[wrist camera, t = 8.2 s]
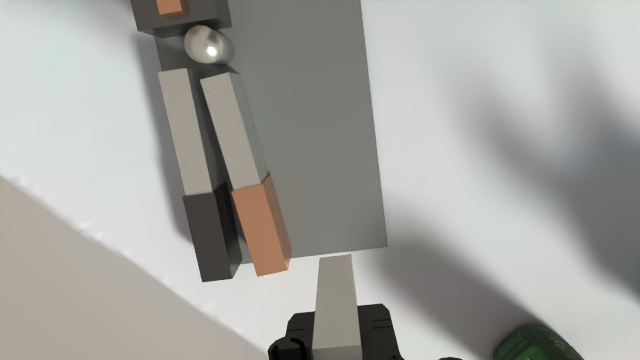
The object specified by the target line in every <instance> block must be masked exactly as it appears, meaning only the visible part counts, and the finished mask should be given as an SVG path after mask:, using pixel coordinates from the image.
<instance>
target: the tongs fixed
mask: <svg viewBox="0 0 640 360" xmlns="http://www.w3.org/2000/svg"><path fill="white" fill-rule="evenodd" d="M131 4H132V9H133V13H134V17H135V21H136V26H137V30H138V31H140V32H143V33H147V34H150V35H153V36H156V37H159V38H169V37H176V36H182V35H186V34H187V32H188V31H189V30H190V29H191V28H193V27H195V26H199V25H202V26H206V27H209V28H211V29H212V30H219V29H225V28H232V21H231V16H230V10H229V5H228V0H131ZM157 73H158V77H159V82H160V86H161V91H162V95H163V99H164V104H165V108H166V112H167V117H168V121H169V126H170V130H171V134H172V139H173V143H174V147H175V152H176V156H177V160H178V165H179V169H180V174H181V178H182V182H183V187H184V191H185V196H183V201H184V205H185V209H186V214H187V218H188V222H189V227H190V231H191V235H192V240H193V244H194V248H195V253H196V257H197V261H198V266H199V270H200V274H201V279H202V282H209V281H217V280H226V279H232V278H233V277H234V275H235V273H236V271H237V269H238V267H239V265H240V264H241V262H242V260H243V258H242V253H241V248H240V244H239V239H238V234H237V229H236V224H235V219H234V214H233V209H232V204H231V199H230V194H229V189H228V184H227V182H225V179H224V174H223V169H222V165H221V160H220V155H219V150H218V145H217V140H216V135H215V130H214V125H213V121H212V118H211V114H210V111H209V108H208V105H207V101H206V98H205V95H204V92H203V88H202V85H201V82H200V80H201V79H204V76H203V71H202V70H196V69H190V68H182V69H176V70H169V71H163V72H157Z"/></svg>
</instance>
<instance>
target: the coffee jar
mask: <svg viewBox="0 0 640 360" xmlns="http://www.w3.org/2000/svg"><path fill="white" fill-rule="evenodd" d="M493 360H584V359H583V358H582V357H581V356H580V355H579V353H578V352H577V351H576V350H575V349H574V348H573V347H572V346H570V345H569V344H568V343H567V342H566V341H565V340H563V339H562V338H561V337H560V336H558V335H557V334H555V333H554V332H552V331H551V330H549V329H547V328H545V327H542V326H538V325H531V326H526V327H523V328H521V329H519V330H517V331H515V332H514V333H512V334H511V335H510V336H508V337H507V338H506V339H505V340H504V341H503V342H502V343H501V344H500V346H499V347H498V348H497V350H496V351H495V353H494V356H493Z"/></svg>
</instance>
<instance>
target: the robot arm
mask: <svg viewBox="0 0 640 360" xmlns="http://www.w3.org/2000/svg"><path fill="white" fill-rule="evenodd" d="M286 331H287V332H286V335H285V337H282V338H280V339H278V340H276V341H275V342H274V343H273V344H272V345H270V347H269V349H268V355H269V360H404V359H403V358H402V357H401V355H400V352H399V348H398V344H397V340H396V336H395V332H394V328H393V324H392V320H391V316H390V312H389V310H388V309H387V308H386V307H385V306H384V305H383V304H372V305H363V306H358V303H357V295H356V288H355V280H354V272H353V264H352V257H351V254H349V255H341V256H332V257H323V258H320V261H319V273H318V285H317V297H316V309H315V311H314V312H305V313H295V314H294V315H293V316H292V317H291V319H290V320H289V321H288V325H287V330H286ZM439 360H462V359H460V358H453V357H447V358H441V359H439Z"/></svg>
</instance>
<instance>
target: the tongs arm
mask: <svg viewBox="0 0 640 360" xmlns="http://www.w3.org/2000/svg"><path fill="white" fill-rule="evenodd" d="M184 46H185V50H186V52H187V54H188V55H189V56H190V57H191V58H192V59H193V60H195V61H197V62H201V63H206V64H210V65H215V66H225V65H227V64H228V63H230V62H231V60H232V59H233V56H234V46H233V44H232V42H231V40H230V39H229V38H227V37H226V36H224V35H222V34H220V33H218V32H216V31H214V30H212V29H211V28H209V27H206V26H202V25H199V26H195V27H193V28H191V29H190V30H189V31H188V32H187V34H186V36H185V39H184ZM200 82H201V85H202V88H203V92H204V95H205V98H206V101H207V105H208V108H209V111H210V114H211V118H212V121H213V124H214V127H215V131H216V134H217V137H218V140H219V144H220V147H221V150H222V153H223V157H224V160H225V163H226V167H227V170H228V173H229V176H230V180H231V183H232V186H233V190H232V191H231V193H232V196H233V199H234V202H235V206H236V209H237V212H238V215H239V219H240V222H241V225H242V228H243V232H244V235H245V238H246V241H247V245H248V248H249V251H250V254H251V257H252V261H253V264H254V267H255V270H256V274H257V277H258V276H263V275H267V274H272V273H277V272H281V271H286V270H288V266H289V262H290V258H291V254H292V249H291V246H290V242H289V238H288V235H287V231H286V228H285V224H284V221H283V217H282V214H281V210H280V207H279V203H278V200H277V196H276V193H275V189H274V185H273V182H272V178H271V175H270V174H269V175H268V172H267V168H266V165H265V161H264V158H263V154H262V151H261V147H260V143H259V140H258V136H257V133H256V129H255V126H254V122H253V119H252V115H251V112H250V108H249V105H248V101H247V98H246V94H245V91H244V87H243V84H242V80H241V77H240V74H235V73H230V72H228V73H224V74H220V75H216V76H212V77H209V78H205V79H201V80H200Z"/></svg>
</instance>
